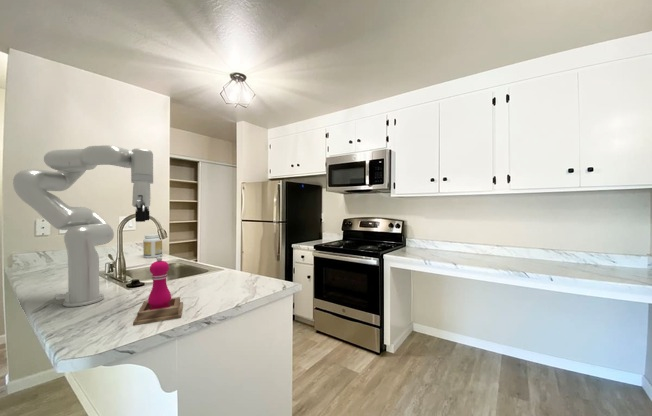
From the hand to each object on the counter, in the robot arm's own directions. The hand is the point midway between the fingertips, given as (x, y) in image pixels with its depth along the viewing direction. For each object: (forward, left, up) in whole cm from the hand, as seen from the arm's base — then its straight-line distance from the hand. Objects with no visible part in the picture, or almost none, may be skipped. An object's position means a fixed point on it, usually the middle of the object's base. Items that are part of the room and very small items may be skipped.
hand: (142, 220), depth 111 cm
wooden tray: (+8, -18, -33) cm, 39 cm away
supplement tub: (-11, +109, -34) cm, 115 cm away
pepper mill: (+8, -18, -32) cm, 38 cm away
